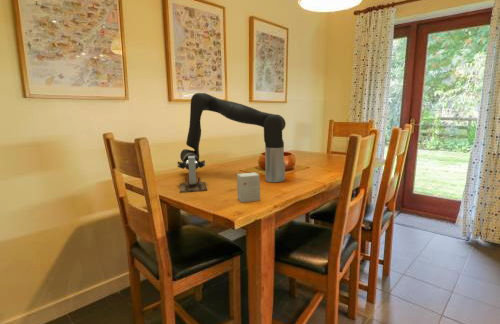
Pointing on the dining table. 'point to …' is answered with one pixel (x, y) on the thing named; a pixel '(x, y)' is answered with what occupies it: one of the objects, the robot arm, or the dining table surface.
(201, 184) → the rack
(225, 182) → the dining table surface
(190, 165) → the grey rectangular block
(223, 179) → the dining table surface
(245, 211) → the dining table surface
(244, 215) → the dining table surface
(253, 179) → the small box
